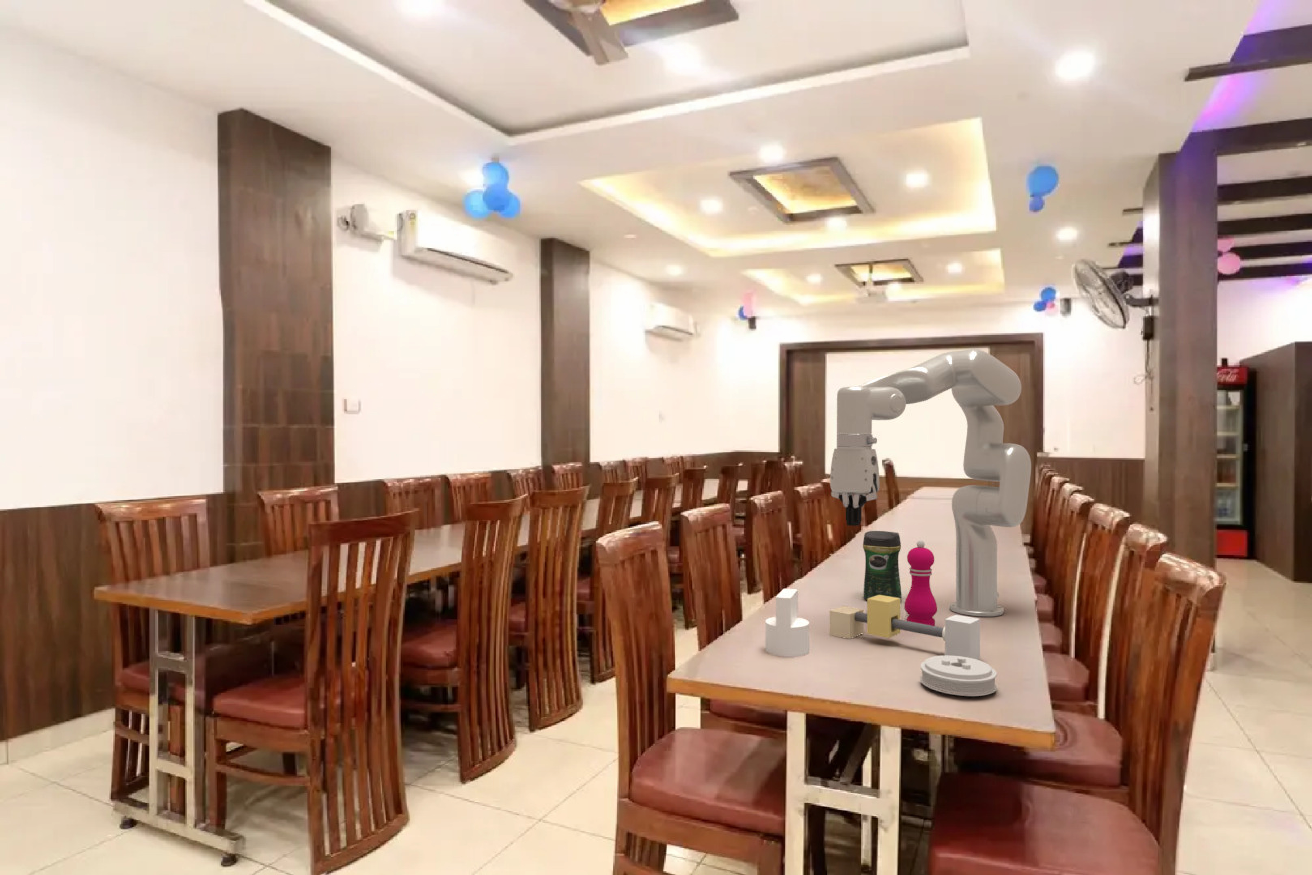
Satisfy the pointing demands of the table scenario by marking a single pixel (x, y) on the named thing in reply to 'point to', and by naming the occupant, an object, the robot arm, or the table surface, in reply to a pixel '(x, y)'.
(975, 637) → the slider rail
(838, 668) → the table surface
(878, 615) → the pale yellow upright block
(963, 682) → the lid
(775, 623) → the base with upright slab
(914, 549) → the pepper mill
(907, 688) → the table surface
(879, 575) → the coffee jar
